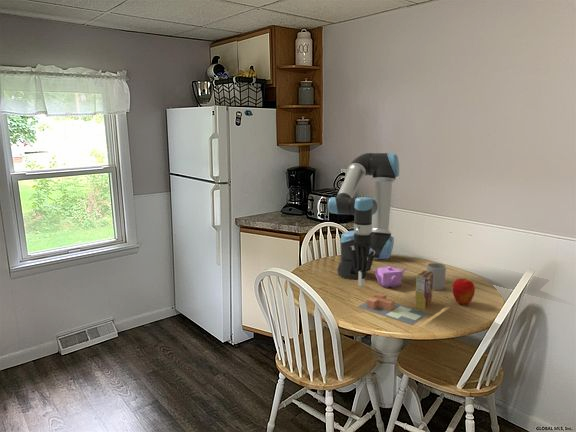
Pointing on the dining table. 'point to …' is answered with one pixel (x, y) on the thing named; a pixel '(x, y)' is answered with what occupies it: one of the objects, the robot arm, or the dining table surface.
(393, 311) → the plate
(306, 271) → the dining table surface
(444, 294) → the dining table surface
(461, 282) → the apple
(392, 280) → the teapot
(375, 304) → the t block
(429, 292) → the candy box
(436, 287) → the mug
